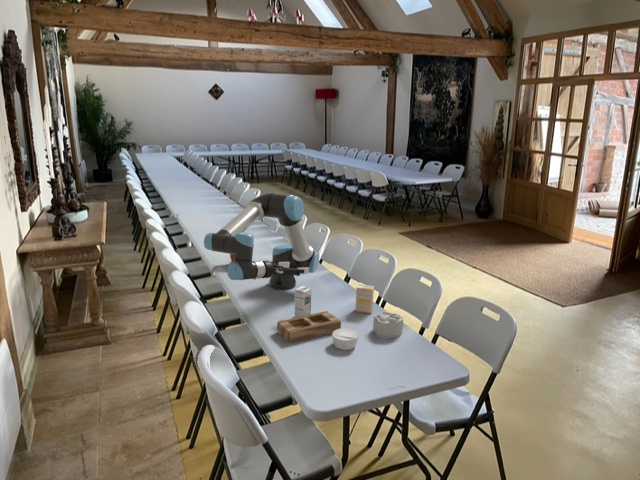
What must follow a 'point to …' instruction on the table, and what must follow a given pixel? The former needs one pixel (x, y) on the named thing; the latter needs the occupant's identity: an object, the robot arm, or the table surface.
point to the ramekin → (345, 338)
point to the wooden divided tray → (308, 326)
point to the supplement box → (364, 298)
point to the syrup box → (302, 301)
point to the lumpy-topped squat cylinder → (388, 324)
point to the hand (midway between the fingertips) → (298, 267)
